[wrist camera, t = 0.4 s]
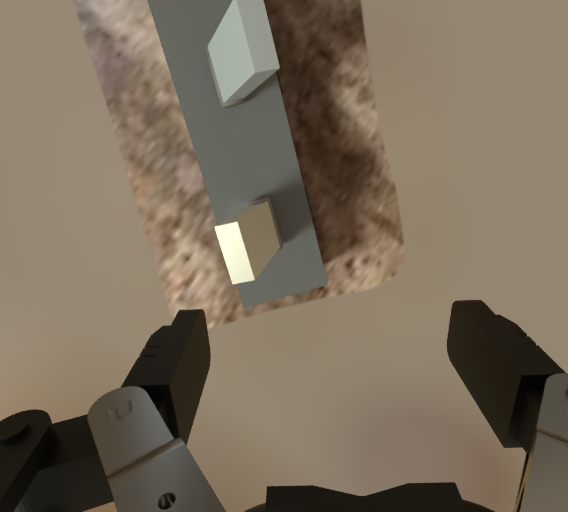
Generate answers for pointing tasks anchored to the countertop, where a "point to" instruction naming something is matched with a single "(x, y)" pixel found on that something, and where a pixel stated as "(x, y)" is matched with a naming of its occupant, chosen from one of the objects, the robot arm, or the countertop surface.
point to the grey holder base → (241, 149)
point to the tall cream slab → (249, 240)
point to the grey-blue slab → (241, 51)
